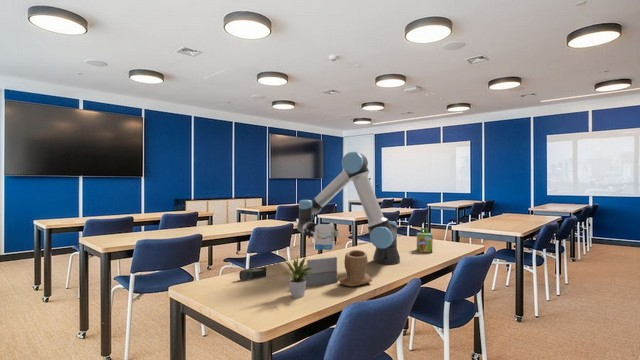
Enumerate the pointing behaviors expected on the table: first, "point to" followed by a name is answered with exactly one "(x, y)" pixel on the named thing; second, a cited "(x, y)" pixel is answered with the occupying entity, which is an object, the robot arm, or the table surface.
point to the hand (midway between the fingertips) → (327, 235)
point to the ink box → (324, 236)
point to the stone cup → (355, 268)
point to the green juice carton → (424, 241)
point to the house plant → (297, 278)
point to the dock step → (321, 271)
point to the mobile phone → (252, 274)
